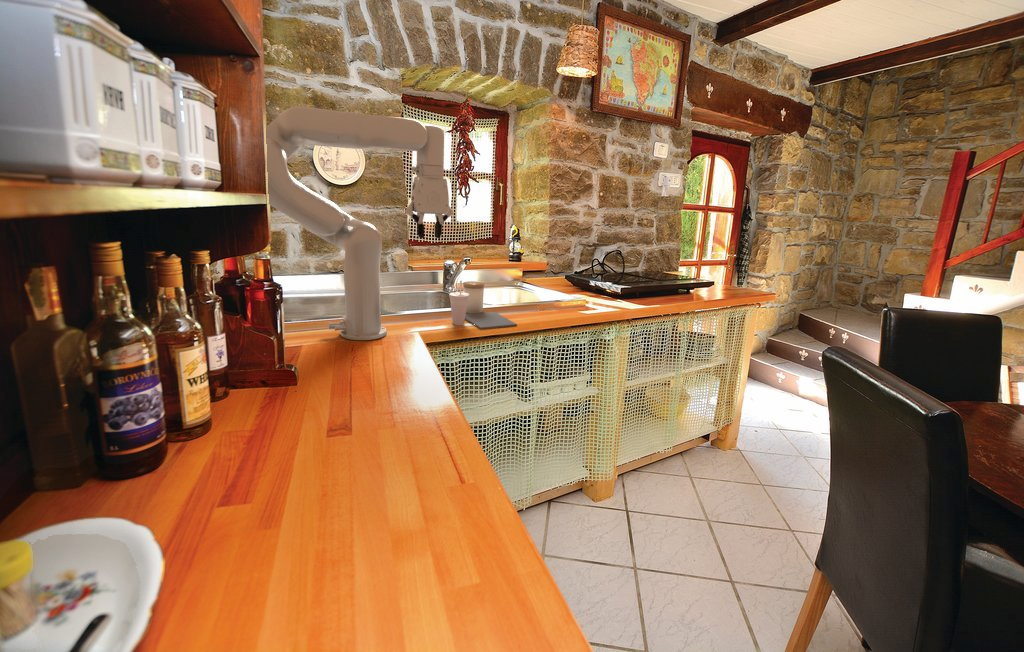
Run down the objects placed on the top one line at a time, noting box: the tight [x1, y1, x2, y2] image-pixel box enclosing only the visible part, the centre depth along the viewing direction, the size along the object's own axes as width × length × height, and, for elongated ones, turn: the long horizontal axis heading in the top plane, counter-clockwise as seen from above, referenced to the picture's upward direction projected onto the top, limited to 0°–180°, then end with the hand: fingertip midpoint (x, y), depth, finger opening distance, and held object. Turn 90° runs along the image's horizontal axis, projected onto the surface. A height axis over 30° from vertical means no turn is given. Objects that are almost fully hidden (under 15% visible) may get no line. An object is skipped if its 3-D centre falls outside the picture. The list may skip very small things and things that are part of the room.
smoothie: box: [448, 280, 469, 326], centre depth 151 cm, size 6×6×14 cm
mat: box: [465, 311, 518, 330], centre depth 158 cm, size 13×16×1 cm
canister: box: [462, 280, 485, 314], centre depth 168 cm, size 7×7×10 cm
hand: (429, 237), depth 141 cm, fingers open, 4 cm apart
